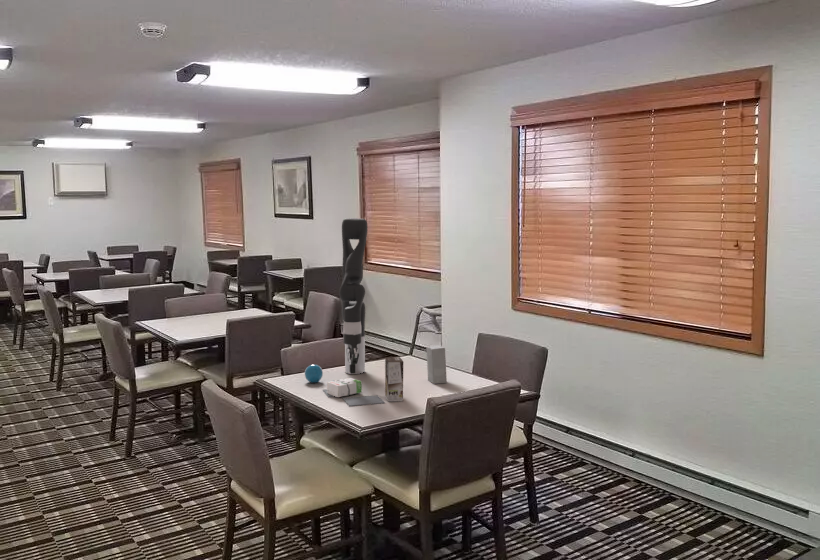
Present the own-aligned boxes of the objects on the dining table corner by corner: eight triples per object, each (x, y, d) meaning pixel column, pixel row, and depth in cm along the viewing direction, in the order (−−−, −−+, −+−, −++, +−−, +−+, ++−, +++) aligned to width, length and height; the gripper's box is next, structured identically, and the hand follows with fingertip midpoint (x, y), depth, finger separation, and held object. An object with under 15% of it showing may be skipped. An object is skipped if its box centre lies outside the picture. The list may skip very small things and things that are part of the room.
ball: (310, 379, 308) (310, 361, 307) (326, 381, 305) (326, 363, 304) (301, 383, 301) (300, 365, 300) (316, 385, 297) (316, 367, 297)
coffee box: (403, 401, 274) (403, 361, 272) (387, 401, 273) (387, 362, 271) (400, 395, 283) (400, 356, 281) (384, 395, 282) (384, 357, 280)
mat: (322, 390, 289) (322, 389, 289) (367, 386, 296) (367, 385, 296) (336, 407, 265) (336, 406, 265) (385, 403, 271) (385, 402, 271)
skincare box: (447, 383, 302) (447, 348, 301) (431, 384, 300) (431, 348, 299) (440, 378, 310) (441, 344, 309) (425, 379, 308) (425, 345, 307)
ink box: (361, 381, 284) (338, 385, 276) (362, 392, 284) (338, 397, 277) (349, 377, 290) (326, 381, 283) (349, 388, 291) (326, 393, 283)
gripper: (339, 329, 290) (340, 370, 292) (347, 335, 278) (347, 377, 279) (357, 328, 293) (357, 368, 294) (365, 334, 280) (365, 375, 282)
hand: (352, 372), depth 287 cm, fingers closed
